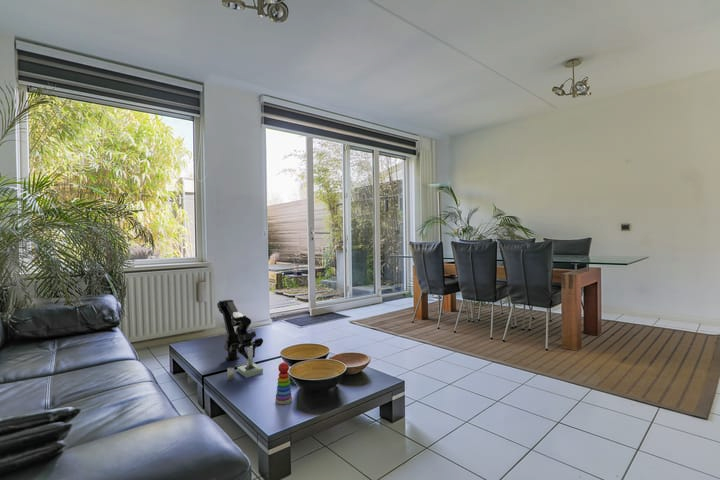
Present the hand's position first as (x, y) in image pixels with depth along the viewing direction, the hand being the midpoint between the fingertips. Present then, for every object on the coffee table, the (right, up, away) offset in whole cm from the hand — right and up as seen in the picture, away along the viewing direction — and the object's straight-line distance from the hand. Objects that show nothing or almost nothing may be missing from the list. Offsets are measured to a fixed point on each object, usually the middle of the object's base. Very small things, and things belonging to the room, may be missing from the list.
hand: (250, 358), depth 210 cm
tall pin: (-1, -7, +1) cm, 7 cm away
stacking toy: (+26, -10, -34) cm, 44 cm away
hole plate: (-1, -8, +1) cm, 9 cm away
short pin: (-8, -9, -8) cm, 15 cm away
